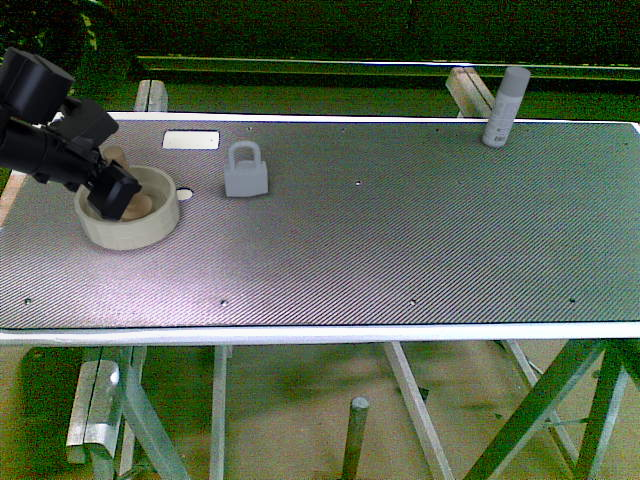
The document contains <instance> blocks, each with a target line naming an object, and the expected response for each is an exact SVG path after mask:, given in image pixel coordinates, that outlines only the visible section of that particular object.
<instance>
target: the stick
mask: <svg viewBox="0 0 640 480" xmlns="http://www.w3.org/2000/svg"><path fill="white" fill-rule="evenodd" d="M102 157H103V159H105V161H106V163H107V165H110V163H111V161H112V159H114V160H115V161H116V162H117V163H119V164H120V165H121V166H122V167H123V168H124V170H126V171H128V172H129V173H130V174H131V175H132V173H131V170H130V167H129V165H130V164H129V163H128V160H127V157H126V154H125V152H124V149H123V148H122V147H121V146H119V145H110V146H107V147H106V148H105V149H104V150H103V151H102ZM132 176H133V175H132ZM154 212H155V209H154V206H153V203H152V200H151V199H150V198H149V197H148V196H146V195H144V194H139V193H136V194H134V196H133V197H132V199H131V201H130V203H129V205H128V206H127V208H126V210H125V212H124V213H123V215H122V217H121V220H122V222H130V221H134V220H138V219H141V218H144V217H146V216H148V215H150V214H152V213H154Z"/></svg>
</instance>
